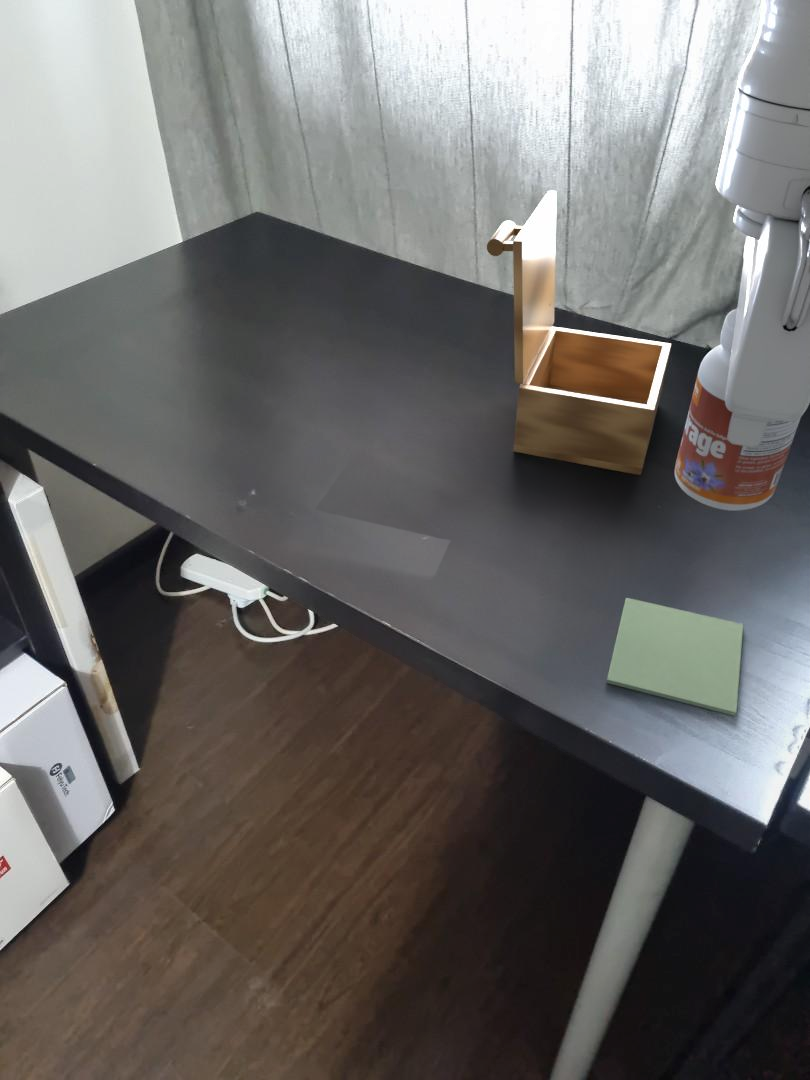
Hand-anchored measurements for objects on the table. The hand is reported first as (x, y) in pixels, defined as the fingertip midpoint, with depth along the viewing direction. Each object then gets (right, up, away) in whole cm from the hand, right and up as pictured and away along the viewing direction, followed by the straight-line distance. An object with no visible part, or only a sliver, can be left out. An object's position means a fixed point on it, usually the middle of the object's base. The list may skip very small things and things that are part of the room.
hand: (746, 405), depth 49 cm
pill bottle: (0, -5, +4) cm, 6 cm away
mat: (0, -17, +13) cm, 21 cm away
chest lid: (-7, +16, +30) cm, 34 cm away
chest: (-1, +4, +37) cm, 37 cm away
